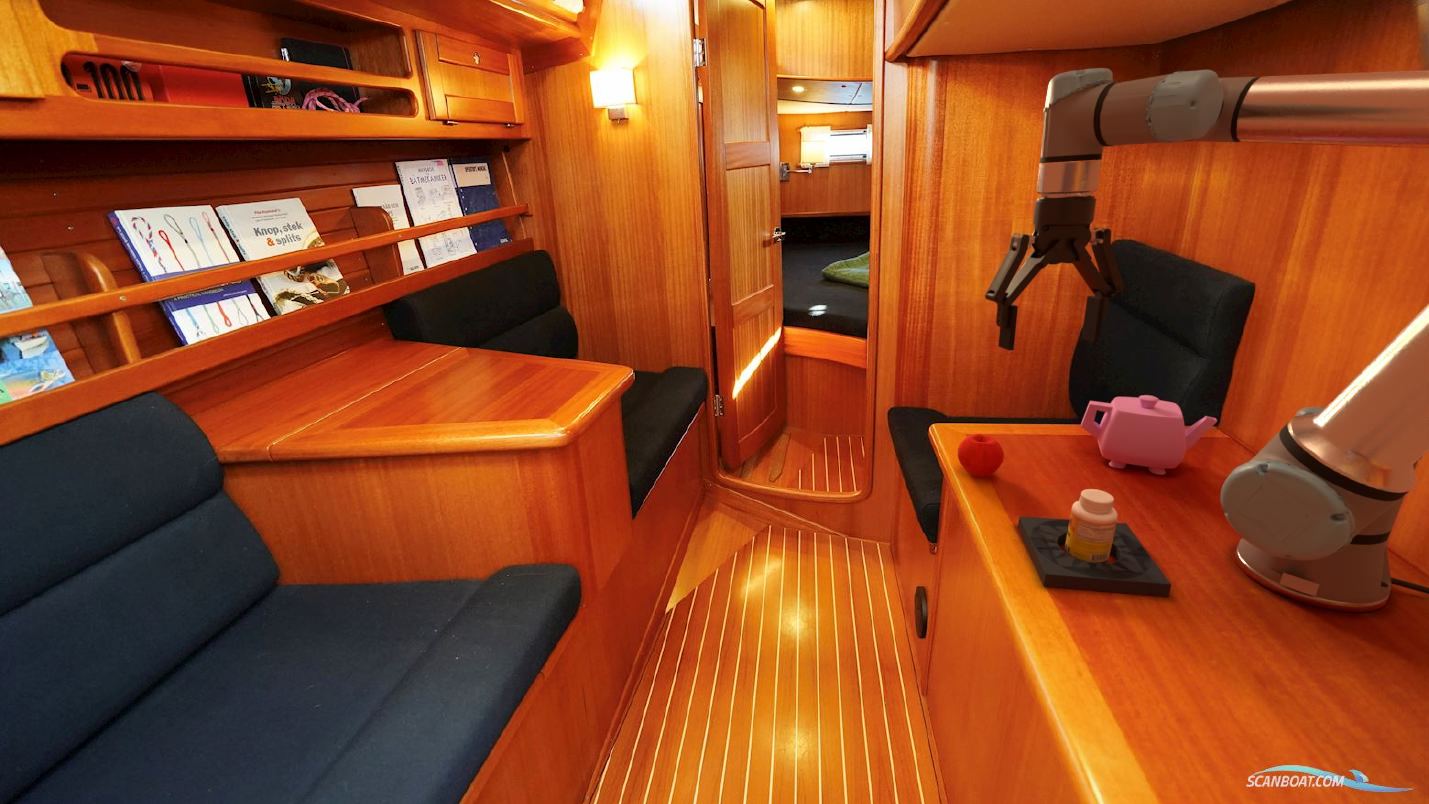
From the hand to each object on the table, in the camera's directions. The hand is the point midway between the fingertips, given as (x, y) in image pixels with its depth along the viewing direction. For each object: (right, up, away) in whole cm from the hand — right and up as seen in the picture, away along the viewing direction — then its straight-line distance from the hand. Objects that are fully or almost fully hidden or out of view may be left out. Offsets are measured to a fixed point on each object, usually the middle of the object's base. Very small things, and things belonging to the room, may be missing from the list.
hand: (1048, 344), depth 95 cm
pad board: (+3, -31, -4) cm, 32 cm away
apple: (-2, -22, +21) cm, 31 cm away
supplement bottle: (+3, -31, -4) cm, 32 cm away
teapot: (+29, -20, +23) cm, 42 cm away
